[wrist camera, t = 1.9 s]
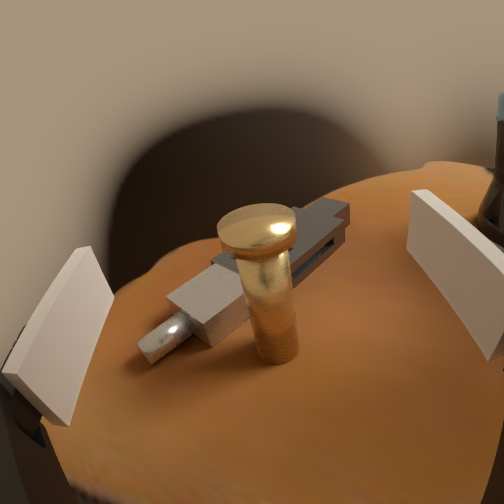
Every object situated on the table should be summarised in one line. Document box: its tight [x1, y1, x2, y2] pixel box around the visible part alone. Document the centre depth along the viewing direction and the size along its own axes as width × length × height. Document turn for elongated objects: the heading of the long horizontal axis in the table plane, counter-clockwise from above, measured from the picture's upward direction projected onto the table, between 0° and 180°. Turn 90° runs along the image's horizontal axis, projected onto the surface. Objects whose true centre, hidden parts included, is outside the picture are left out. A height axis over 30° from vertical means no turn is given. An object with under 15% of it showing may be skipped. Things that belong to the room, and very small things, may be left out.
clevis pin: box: [217, 203, 299, 365], centre depth 26 cm, size 6×6×14 cm
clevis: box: [135, 197, 350, 365], centre depth 39 cm, size 35×9×4 cm, turn 136°
